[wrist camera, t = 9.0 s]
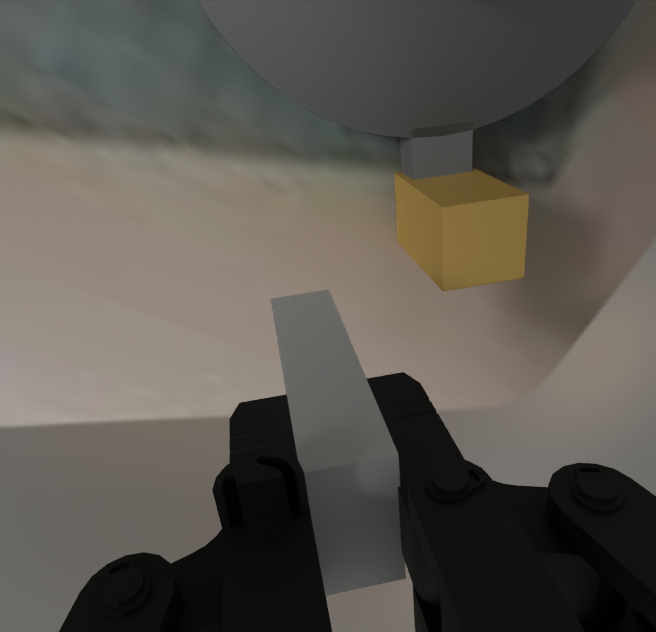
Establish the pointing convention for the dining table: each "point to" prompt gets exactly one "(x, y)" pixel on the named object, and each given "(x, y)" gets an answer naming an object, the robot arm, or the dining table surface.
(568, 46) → the turntable
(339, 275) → the dining table surface
